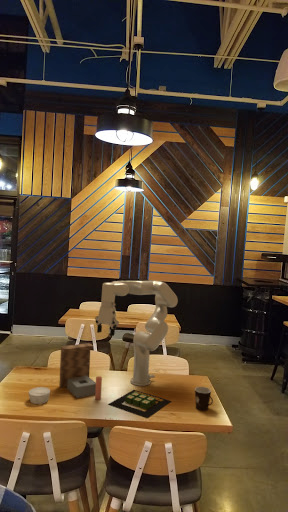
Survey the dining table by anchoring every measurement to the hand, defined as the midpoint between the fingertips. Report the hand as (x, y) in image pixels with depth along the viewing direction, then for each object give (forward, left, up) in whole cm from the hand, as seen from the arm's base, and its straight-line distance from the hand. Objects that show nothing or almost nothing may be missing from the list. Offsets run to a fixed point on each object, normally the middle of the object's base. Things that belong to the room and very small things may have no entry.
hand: (105, 334), depth 216 cm
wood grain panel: (+11, -14, -34) cm, 38 cm away
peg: (+7, +8, -34) cm, 35 cm away
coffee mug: (-37, +44, -34) cm, 67 cm away
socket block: (+11, -5, -34) cm, 36 cm away
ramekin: (+36, -4, -34) cm, 50 cm away
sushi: (-11, +23, -35) cm, 43 cm away
